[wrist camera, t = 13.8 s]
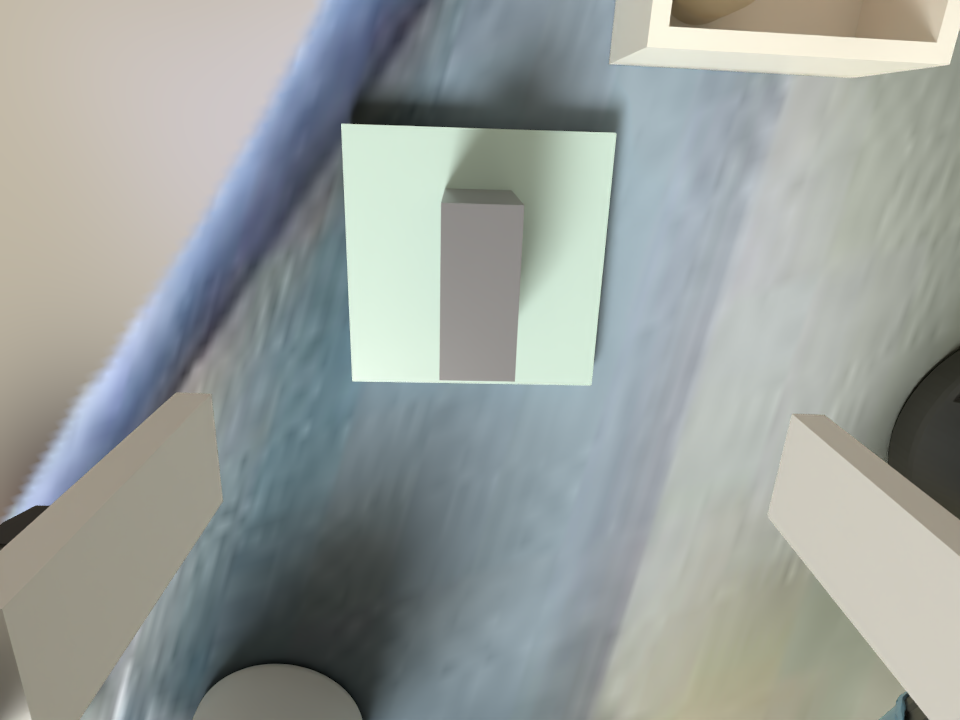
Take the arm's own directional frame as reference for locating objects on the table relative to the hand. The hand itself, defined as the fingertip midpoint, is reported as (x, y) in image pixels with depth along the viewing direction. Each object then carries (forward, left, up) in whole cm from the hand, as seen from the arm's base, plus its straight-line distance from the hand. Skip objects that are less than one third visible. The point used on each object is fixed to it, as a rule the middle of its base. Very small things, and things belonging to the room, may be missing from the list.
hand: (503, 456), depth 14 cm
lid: (0, 0, -22) cm, 22 cm away
